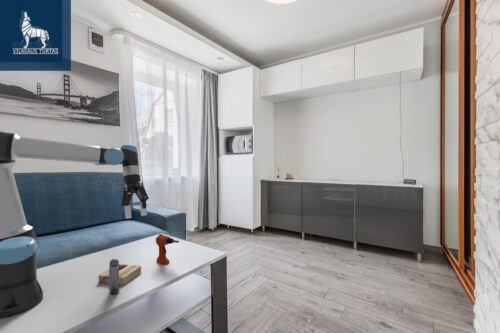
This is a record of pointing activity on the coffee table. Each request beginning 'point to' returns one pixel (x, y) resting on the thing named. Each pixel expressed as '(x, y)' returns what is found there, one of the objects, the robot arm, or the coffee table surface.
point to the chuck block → (122, 273)
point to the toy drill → (163, 248)
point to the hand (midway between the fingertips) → (136, 217)
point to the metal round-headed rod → (114, 277)
